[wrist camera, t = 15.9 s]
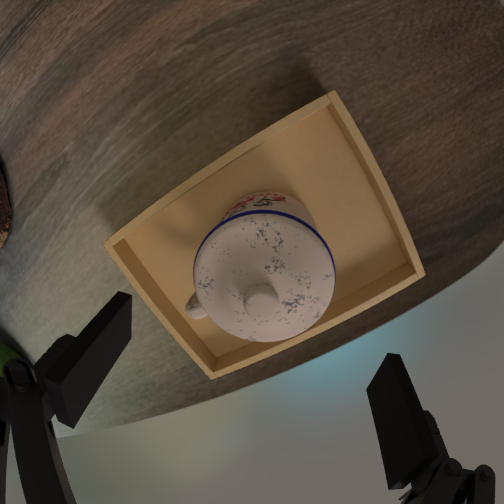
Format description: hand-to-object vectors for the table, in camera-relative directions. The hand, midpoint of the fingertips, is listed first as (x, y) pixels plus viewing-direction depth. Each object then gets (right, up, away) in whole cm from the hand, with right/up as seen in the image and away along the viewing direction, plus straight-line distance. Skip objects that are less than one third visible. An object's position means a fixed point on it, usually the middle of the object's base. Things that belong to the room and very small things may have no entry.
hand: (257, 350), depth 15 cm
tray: (+1, +5, +14) cm, 15 cm away
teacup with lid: (0, +5, +14) cm, 15 cm away
